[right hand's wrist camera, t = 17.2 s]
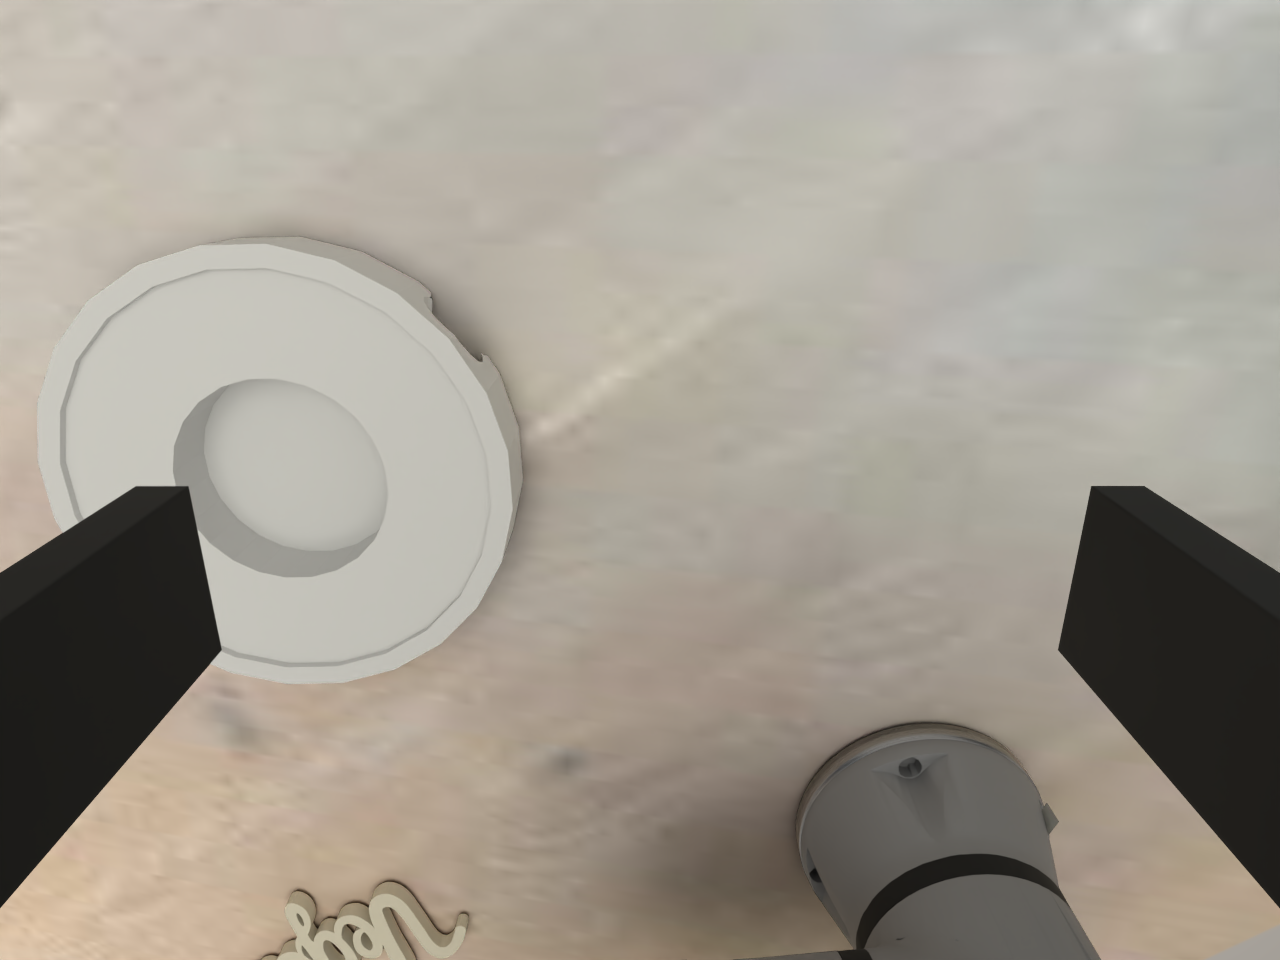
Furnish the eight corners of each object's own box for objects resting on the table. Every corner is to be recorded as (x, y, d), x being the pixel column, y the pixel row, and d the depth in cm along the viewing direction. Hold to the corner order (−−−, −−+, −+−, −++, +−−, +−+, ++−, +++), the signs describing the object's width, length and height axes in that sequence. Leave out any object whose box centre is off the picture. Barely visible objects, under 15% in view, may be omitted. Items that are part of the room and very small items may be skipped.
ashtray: (536, 262, 41) (526, 272, 38) (511, 662, 50) (501, 703, 46) (58, 209, 41) (-1, 214, 37) (112, 625, 49) (69, 664, 45)
